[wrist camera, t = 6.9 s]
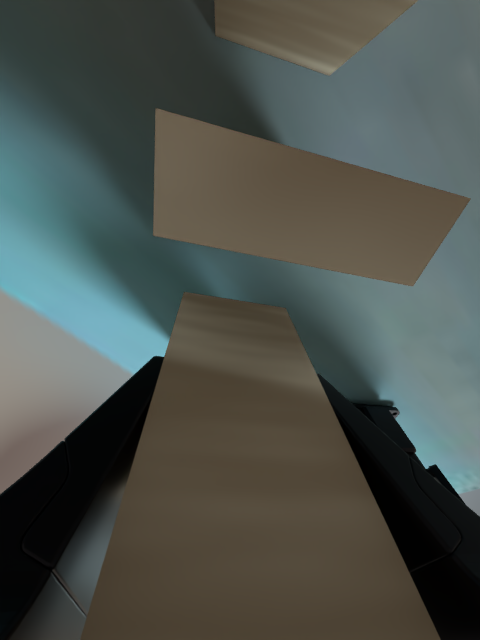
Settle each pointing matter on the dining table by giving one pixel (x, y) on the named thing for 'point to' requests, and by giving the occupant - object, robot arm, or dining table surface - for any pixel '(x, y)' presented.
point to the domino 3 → (248, 501)
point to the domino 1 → (306, 27)
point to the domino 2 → (293, 203)
